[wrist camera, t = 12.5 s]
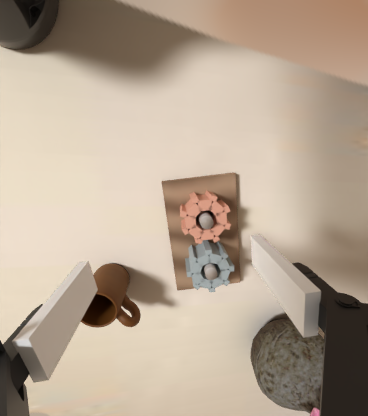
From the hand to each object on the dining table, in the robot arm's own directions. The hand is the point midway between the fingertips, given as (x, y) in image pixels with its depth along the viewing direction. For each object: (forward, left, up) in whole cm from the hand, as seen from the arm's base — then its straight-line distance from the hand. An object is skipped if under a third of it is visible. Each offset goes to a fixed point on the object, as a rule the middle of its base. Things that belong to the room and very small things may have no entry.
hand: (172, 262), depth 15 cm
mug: (+17, -14, -24) cm, 32 cm away
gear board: (+8, +5, -24) cm, 25 cm away
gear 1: (+3, +5, -22) cm, 23 cm away
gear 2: (+13, +5, -22) cm, 26 cm away
